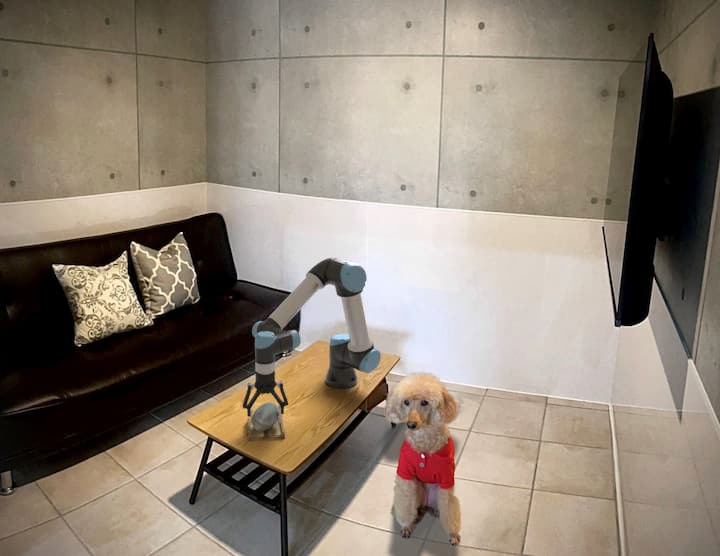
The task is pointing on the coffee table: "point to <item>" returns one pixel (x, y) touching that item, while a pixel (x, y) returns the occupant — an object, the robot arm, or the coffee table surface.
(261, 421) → the grey streaked ellipsoid
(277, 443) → the coffee table surface
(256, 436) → the shallow beige tray
